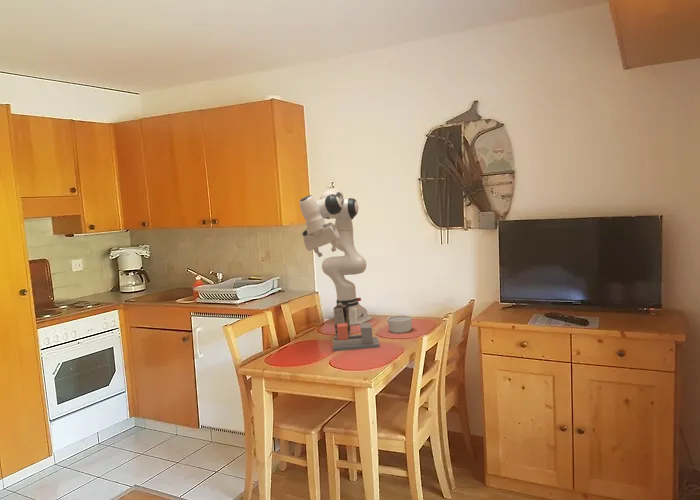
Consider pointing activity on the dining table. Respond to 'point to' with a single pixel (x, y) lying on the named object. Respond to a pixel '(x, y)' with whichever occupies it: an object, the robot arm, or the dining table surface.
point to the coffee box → (341, 317)
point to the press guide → (357, 340)
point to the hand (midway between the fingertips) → (327, 254)
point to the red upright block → (342, 331)
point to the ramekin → (400, 323)
